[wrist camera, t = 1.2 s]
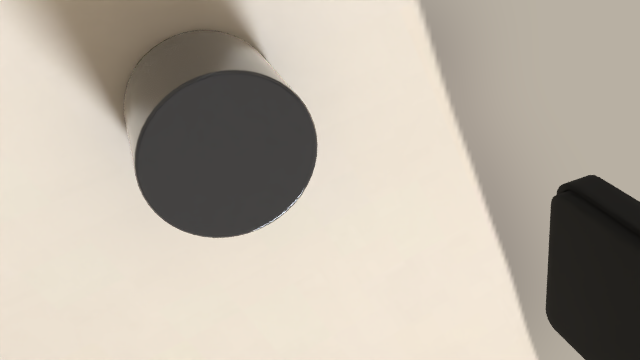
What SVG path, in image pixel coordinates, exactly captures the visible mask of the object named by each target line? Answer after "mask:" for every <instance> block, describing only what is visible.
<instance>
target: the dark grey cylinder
mask: <svg viewBox="0 0 640 360" xmlns="http://www.w3.org/2000/svg"><path fill="white" fill-rule="evenodd" d="M124 116H125V122H126V128H127V133H128V138H129V144H130V149H131V154H132V160H133V165H134V170H135V176H136V179H137V183H138V186H139V189H140V191H141V193H142V195H143V197H144V199H145V200H146V202H147V203H148V205H149V206H150V207H151V208H152V210H153V211H154V212H155V213H156V214H157V215H158V216H159V217H161V218H162V219H163V220H164V221H166V222H167V223H169V224H170V225H172V226H174V227H176V228H178V229H180V230H182V231H184V232H187V233H190V234H193V235H198V236H203V237H212V238H224V237H233V236H239V235H243V234H247V233H250V232H253V231H255V230H258V229H260V228H262V227H264V226H266V225H268V224H270V223H272V222H273V221H275V220H276V219H278V218H279V217H280V216H282V215H283V214H284V213H285V212H287V211H288V210H289V209H290V208H291V207H292V206H293V205H294V204H295V202H296V201H297V200H298V199H299V197H300V196H301V195H302V193H303V192H304V190H305V188H306V187H307V185H308V183H309V181H310V178H311V176H312V173H313V170H314V167H315V162H316V157H317V134H316V130H315V125H314V122H313V120H312V117H311V115H310V113H309V111H308V109H307V107H306V106H305V104H304V103H303V101H302V100H301V99H300V98H299V96H298V95H297V94H296V93H295V92H294V91H293V90H292V88H291V87H290V86H289V85H288V84H287V83H286V82H285V81H284V79H283V78H282V77H281V76H280V75H279V74H278V73H277V71H276V70H275V69H274V68H273V67H272V66H271V65H270V64H269V62H268V61H267V60H266V59H265V58H264V57H263V56H262V55H261V54H260V53H259V52H258V51H257V50H256V49H255V48H254V47H253V46H251V45H250V44H249V43H247V42H246V41H244V40H242V39H240V38H238V37H236V36H233V35H230V34H228V33H223V32H219V31H210V30H200V31H191V32H185V33H182V34H179V35H176V36H173V37H171V38H169V39H167V40H164V41H163V42H161V43H160V44H158V45H157V46H155V47H154V48H153V49H152V50H150V51H149V52H148V53H147V54H146V55H145V56H144V57H143V58H142V59H141V60H140V62H139V63H138V65H137V66H136V67H135V69H134V71H133V73H132V75H131V77H130V79H129V81H128V84H127V87H126V91H125V97H124Z"/></svg>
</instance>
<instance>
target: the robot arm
mask: <svg viewBox="0 0 640 360" xmlns="http://www.w3.org/2000/svg"><path fill="white" fill-rule="evenodd" d="M546 314H547V317H548V320H549V322H550V324H551V325H552V327H553V328H554V329H555V330H556V331H557V332H558V333H559V334H560V335H561V336H562V337H563V338H564V339H565V340H566V341H567V342H568V343H569V344H570V345H571V346H572V347H573V348H574V349H575V350H576V351H577V352H578V353H579V354H580V355H581V356H582V357H583V358H584V359H585V360H640V202H639V201H637V200H636V199H634V198H632V197H631V196H629V195H627V194H626V193H624V192H622V191H621V190H619V189H618V188H616V187H614V186H613V185H611V184H609V183H608V182H606V181H604V180H603V179H601V178H600V177H597V176H595V175H588V176H586V177H583V178H580V179H577V180H574V181H571V182H568V183H565V184H563V185H561V186H560V187H559V189H558V190H557V195H556V196H554V197H553V199H552V202H551V216H550V235H549V256H548V275H547V295H546Z"/></svg>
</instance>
